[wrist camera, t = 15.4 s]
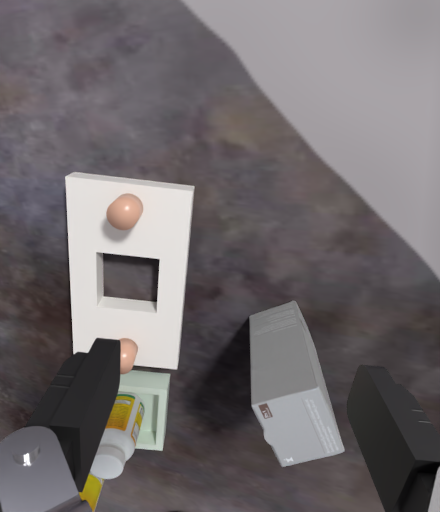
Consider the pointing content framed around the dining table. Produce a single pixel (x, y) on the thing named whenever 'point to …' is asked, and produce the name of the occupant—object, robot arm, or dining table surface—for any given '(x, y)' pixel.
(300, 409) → the skincare box
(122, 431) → the supplement bottle
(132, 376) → the tray
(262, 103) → the dining table surface
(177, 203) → the socket holder
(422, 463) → the robot arm
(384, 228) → the dining table surface
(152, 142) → the dining table surface
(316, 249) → the dining table surface
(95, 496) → the supplement bottle
